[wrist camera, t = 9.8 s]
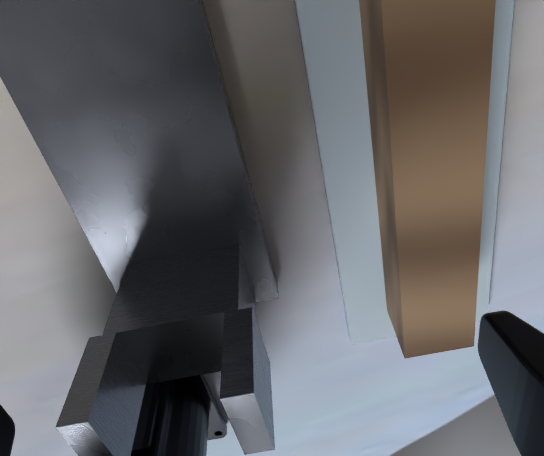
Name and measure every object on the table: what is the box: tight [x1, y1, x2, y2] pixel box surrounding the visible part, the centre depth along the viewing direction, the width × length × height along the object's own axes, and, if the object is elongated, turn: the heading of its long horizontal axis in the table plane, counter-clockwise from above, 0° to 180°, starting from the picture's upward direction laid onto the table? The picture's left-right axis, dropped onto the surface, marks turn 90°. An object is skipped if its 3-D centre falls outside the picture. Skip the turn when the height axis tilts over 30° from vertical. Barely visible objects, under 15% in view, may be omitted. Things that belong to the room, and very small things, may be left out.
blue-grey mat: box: [295, 0, 514, 345], centre depth 16 cm, size 26×7×1 cm, turn 12°
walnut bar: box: [359, 0, 496, 358], centre depth 14 cm, size 24×3×3 cm, turn 12°
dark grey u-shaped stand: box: [0, 0, 279, 456], centre depth 12 cm, size 23×7×8 cm, turn 12°
